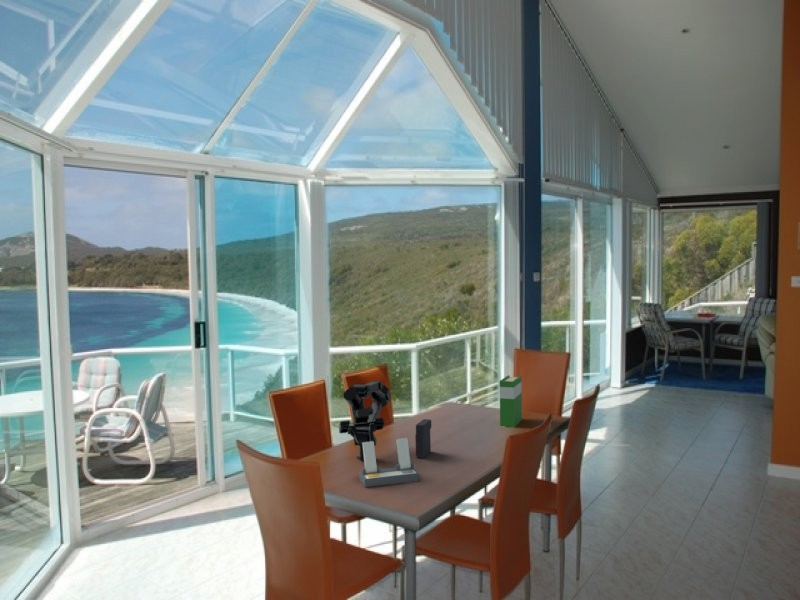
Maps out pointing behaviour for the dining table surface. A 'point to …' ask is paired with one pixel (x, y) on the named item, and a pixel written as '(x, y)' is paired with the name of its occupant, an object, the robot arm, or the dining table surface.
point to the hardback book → (510, 401)
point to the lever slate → (403, 453)
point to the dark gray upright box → (423, 438)
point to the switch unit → (388, 476)
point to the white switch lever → (369, 457)
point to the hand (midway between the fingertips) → (365, 443)
